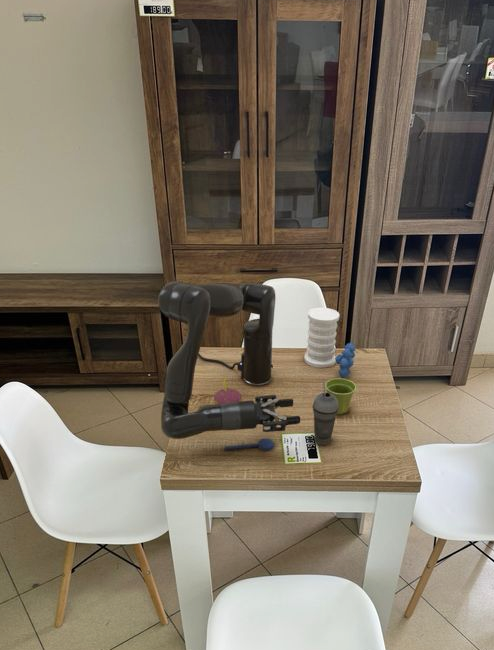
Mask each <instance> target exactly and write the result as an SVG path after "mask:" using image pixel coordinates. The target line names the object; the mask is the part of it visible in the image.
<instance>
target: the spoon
mask: <svg viewBox="0 0 494 650" xmlns="http://www.w3.org/2000/svg"><path fill="white" fill-rule="evenodd" d="M274 447H275V442H274V441H273V440H272V439H270V438H262V439H260V440H259V441H258V443H250V444H249V443H247V444H241V445H240V444H239V445H230V446H229V445H228V446H224V447H223V448H224V450H226V451H229V450H238V449H249V448H250V449H251V448H259V449H260V450H262V451H271V450H273V448H274Z"/></svg>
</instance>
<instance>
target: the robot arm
mask: <svg viewBox="0 0 494 650" xmlns="http://www.w3.org/2000/svg"><path fill="white" fill-rule="evenodd" d="M276 299H277V298H276V290H275V288H274V287H273V286H271V285H268V284H262V283H257V282H251V281H250V282H243V283H239V284H234V283H229V282H215V283H198V284H192V283H188V282H183V281H179V280H173V281H170V282H168V283H167V284H166V285H164V286H163V287H162V289H161V290H160V292H159V295H158V298H157V304H158V308H159V310H160V312H161V313H162V314H163V316H165V317H166V318H168V319H170V320H173V321H176V322H179V323H183V324H186V325H187V332H186V336H185V339H184V341H183V343H182V345H181V346H180V348H179V349H178V350H177V351H176V352H175V354H174V355H173V356H172V357H171V358H170V360H169V361H168V364H167V367H166V370H165V376H164V389H163V393H164V395H163V396H164V397H163V399H162V400H163V401H162V407H161V414H160V420H161V421H160V424H161V431H162V433H163V435H165V436H166V437H167V438H170V439H174V440H181V439H182V440H183V439H187V438H191V437H194V436H198V435H201V434H203V433H206V432H218V431H239V430H241V431H242V430H253V429H256V428H257V426H258V425H259V426H260V425H261V426H262V432H263V433H271V432H272V433H273V432H285V431H286V427H287V426H293V425H299V424H300V423H301V416H300V415H289V416H283V415H280V413H278V412H276V409H278V408H291V407H293V406H294V398H279V397H277V394H269V395H261V396H255V398H254V400H242V401H241V402H229V403H224V404H215V403H214V404H206V405H201V406H199V407H198V409H197V411H193V412H189V406H190V400H191V399H192V394H193V388H194V387H193V386H194V381H195V380H194V379H195V378H194V377H195V371H196V365H197V361H198V358H200V359H201V360H203V361H206V362H214V363H218V364H222V365H223V366H224V367H226V368H228V369H231V370H233V369H234V368H235V367H236V366H237V367H236V369H237V371H239V372H240V376H241V377H240V378H241V380H243V381H244V383H246V384H247V385H249V386H253V387H262V386H266V385H268V384H270V383H271V382H272V369H274V365H273V364H272V362H273V361H272V360H273V329H274V323H275V311H276V310H275V309H276ZM241 311H242V312H245V313H249V314H254V315H259V318H255V319H250V320H247V321H246V322H245V323H244V325H243V352H242V353H241V354H240V357H241V358H240V361H239V362H234V363H233V364H232V365H231V366H230V365H228V364H227V363H225V362H224V361H222V360H219V359H214V358H206V357H204V356H202V355H201V354H200V351H201V346H202V343H203V340H204V336H205V333H206V328H207V325H208V321H209V317H210V318H219V319H221V318H230V317H233V316H236V315H238V314H239V313H240V312H241Z"/></svg>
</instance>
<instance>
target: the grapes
mask: <svg viewBox="0 0 494 650" xmlns="http://www.w3.org/2000/svg"><path fill="white" fill-rule="evenodd" d="M355 351H356V345H354V343H351V342H348V343H346V345H344V349H343V351H341V354H338V355H337V356H336V358H335V360H336V364H337V365H338V366H339V369H338V370H337V372H338V375H339V378H343V379H347V378H348V377H349V375H350V374H351V368H352V367H354V363H355V361H354V358H355V357H356V353H355Z"/></svg>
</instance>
